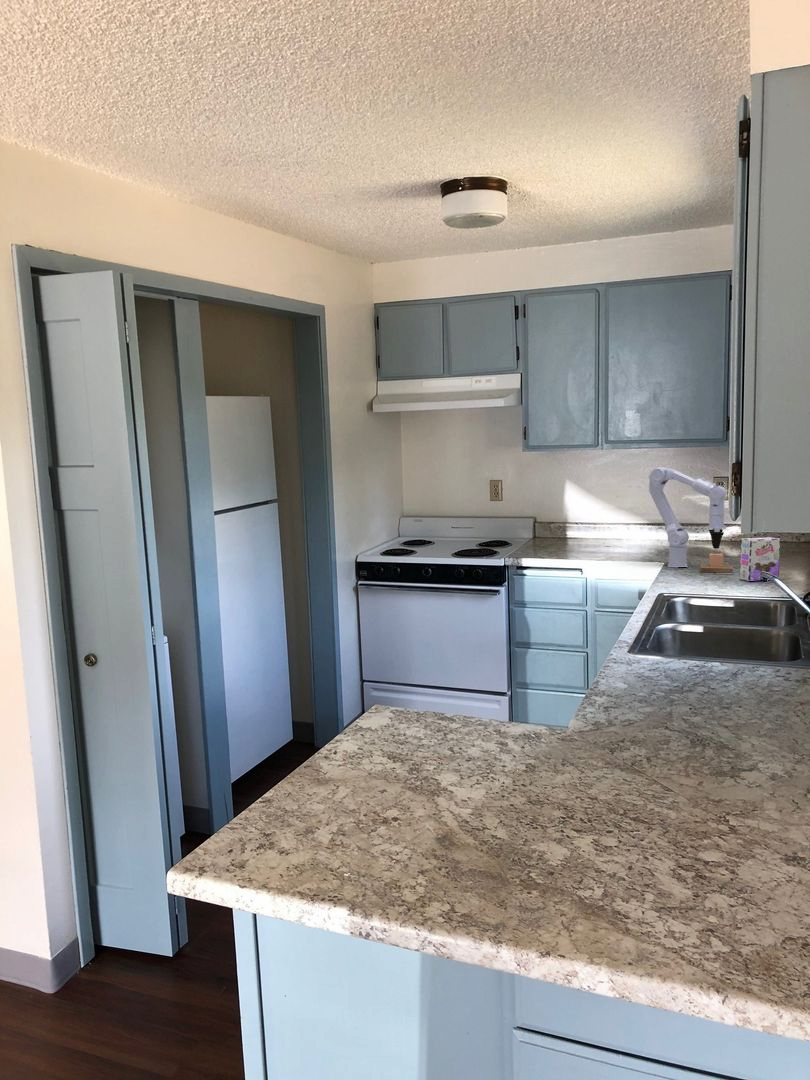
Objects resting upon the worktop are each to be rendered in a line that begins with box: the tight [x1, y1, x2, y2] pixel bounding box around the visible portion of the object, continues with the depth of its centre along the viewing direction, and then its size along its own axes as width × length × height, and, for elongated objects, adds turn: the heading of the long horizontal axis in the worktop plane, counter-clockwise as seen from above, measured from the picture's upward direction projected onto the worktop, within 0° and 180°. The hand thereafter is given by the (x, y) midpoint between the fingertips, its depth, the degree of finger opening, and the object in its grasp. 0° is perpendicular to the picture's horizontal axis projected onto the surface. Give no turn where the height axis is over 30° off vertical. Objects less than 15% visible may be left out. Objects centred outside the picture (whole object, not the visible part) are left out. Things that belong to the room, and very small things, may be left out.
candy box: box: [739, 537, 781, 582], centre depth 323 cm, size 14×6×16 cm, turn 105°
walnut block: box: [699, 563, 733, 574], centre depth 345 cm, size 12×12×3 cm
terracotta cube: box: [708, 552, 724, 567], centre depth 345 cm, size 5×5×5 cm
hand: (715, 547), depth 351 cm, fingers open, 7 cm apart
